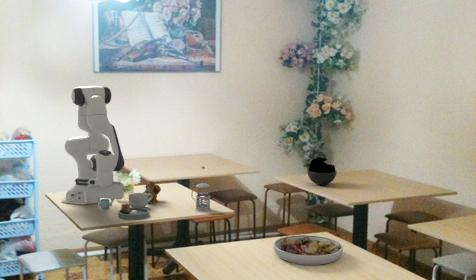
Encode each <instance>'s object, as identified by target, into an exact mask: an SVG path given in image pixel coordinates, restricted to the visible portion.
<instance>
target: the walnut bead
mask: <svg viewBox="0 0 476 280" xmlns="http://www.w3.org/2000/svg"><path fill="white" fill-rule="evenodd" d="M120 207H121V208H120V209H121V210H122V214H130V207H131V206H130V204H129V202H127V203H125V202H124V203H121V206H120Z"/></svg>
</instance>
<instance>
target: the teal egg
mask: <svg viewBox="0 0 476 280" xmlns="http://www.w3.org/2000/svg"><path fill="white" fill-rule="evenodd" d="M100 199H101V201H100V202H101V206H100V209H101V210H102V211H108V210H110V206H109V203H110V202H111V201H110V199H109V198H100Z"/></svg>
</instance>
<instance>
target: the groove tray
mask: <svg viewBox="0 0 476 280" xmlns="http://www.w3.org/2000/svg"><path fill="white" fill-rule="evenodd" d="M149 216H150V209H148V208H146V207H144V208H141V207H131V206H130V214H122V210H121V208H120V209H119V210H117V217H118V218H119V217H120V218H119V219H122V218H124V220H129V219H134V220H141V219H142V218H143V219H146V218H148V217H149ZM143 219H142V220H143Z"/></svg>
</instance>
